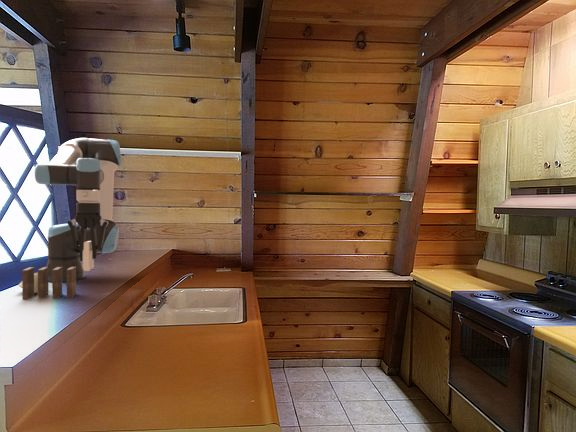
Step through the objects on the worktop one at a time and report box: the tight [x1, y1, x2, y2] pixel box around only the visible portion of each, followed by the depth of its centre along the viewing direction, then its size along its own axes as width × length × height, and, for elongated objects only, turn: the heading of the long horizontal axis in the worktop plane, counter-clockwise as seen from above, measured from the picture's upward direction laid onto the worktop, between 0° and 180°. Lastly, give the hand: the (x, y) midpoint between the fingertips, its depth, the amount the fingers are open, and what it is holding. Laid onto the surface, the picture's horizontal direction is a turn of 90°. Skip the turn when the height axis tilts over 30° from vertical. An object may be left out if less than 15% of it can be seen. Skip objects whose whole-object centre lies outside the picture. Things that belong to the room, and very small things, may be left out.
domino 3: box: [51, 267, 63, 299], centre depth 136 cm, size 2×5×10 cm, turn 14°
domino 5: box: [84, 241, 92, 272], centre depth 137 cm, size 2×5×10 cm, turn 13°
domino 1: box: [21, 266, 35, 300], centre depth 134 cm, size 2×5×10 cm, turn 12°
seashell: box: [18, 272, 38, 295], centre depth 141 cm, size 8×8×8 cm
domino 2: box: [37, 266, 50, 299], centre depth 135 cm, size 2×5×10 cm, turn 14°
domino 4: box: [66, 267, 77, 299], centre depth 137 cm, size 2×5×10 cm, turn 13°
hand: (88, 267), depth 138 cm, fingers closed on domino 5, 2 cm apart
